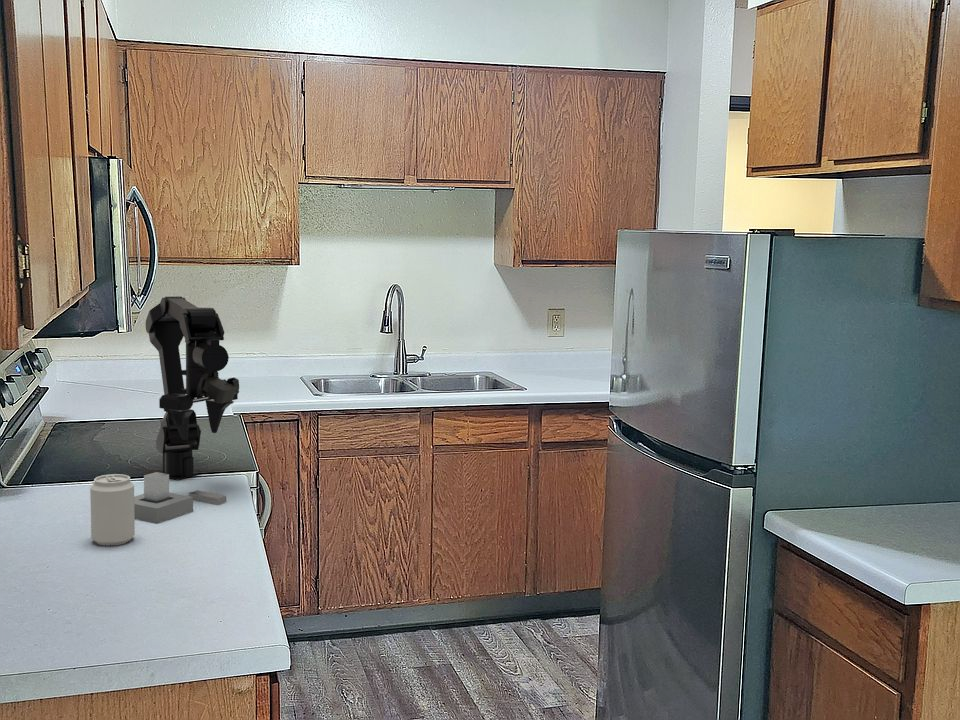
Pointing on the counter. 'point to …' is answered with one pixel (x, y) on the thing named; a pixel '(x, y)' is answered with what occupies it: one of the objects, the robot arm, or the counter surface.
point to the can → (112, 509)
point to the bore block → (162, 508)
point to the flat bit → (208, 497)
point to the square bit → (156, 487)
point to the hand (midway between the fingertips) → (199, 436)
